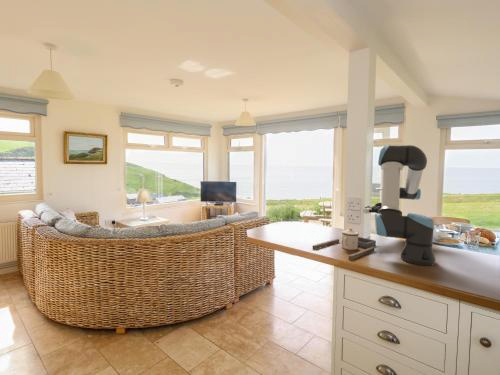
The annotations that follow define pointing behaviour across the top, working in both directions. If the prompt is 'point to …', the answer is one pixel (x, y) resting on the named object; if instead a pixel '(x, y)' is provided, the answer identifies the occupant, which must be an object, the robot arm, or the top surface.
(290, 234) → the top surface
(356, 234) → the teacup with lid
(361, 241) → the bin
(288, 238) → the top surface
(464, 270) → the top surface
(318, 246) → the walnut rail lane
